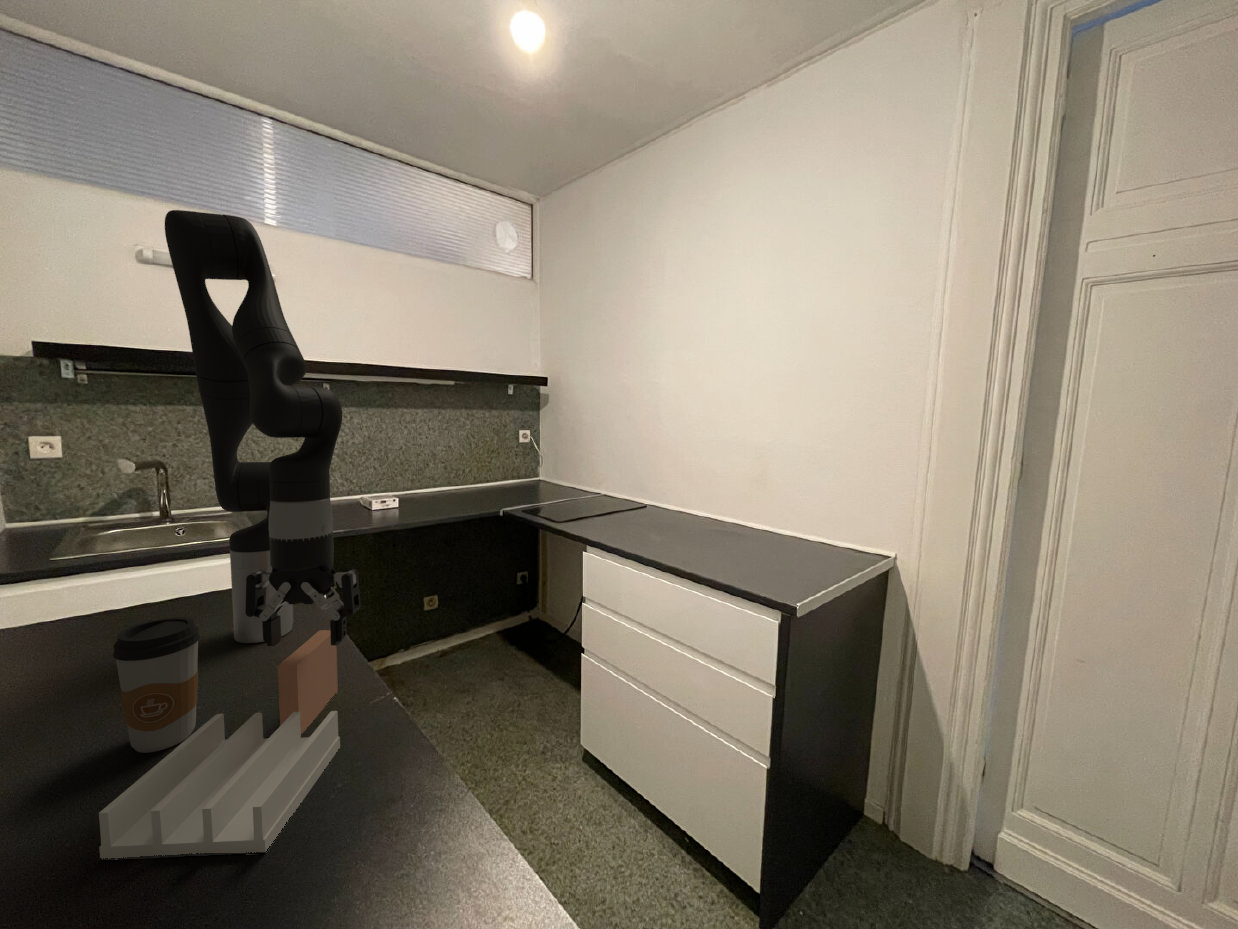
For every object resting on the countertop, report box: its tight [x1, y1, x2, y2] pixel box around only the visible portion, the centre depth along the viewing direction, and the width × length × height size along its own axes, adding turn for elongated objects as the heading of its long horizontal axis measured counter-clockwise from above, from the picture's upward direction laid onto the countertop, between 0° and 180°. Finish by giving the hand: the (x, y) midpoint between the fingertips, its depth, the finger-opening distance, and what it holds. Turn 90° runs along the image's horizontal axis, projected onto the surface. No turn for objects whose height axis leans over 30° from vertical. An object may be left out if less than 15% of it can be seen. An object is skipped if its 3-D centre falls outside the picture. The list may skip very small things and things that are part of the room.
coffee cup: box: [112, 616, 201, 754], centre depth 66 cm, size 8×8×15 cm
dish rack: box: [98, 710, 341, 859], centre depth 57 cm, size 16×15×5 cm
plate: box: [277, 629, 339, 735], centre depth 73 cm, size 11×2×10 cm, turn 5°
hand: (305, 643), depth 72 cm, fingers open, 8 cm apart
